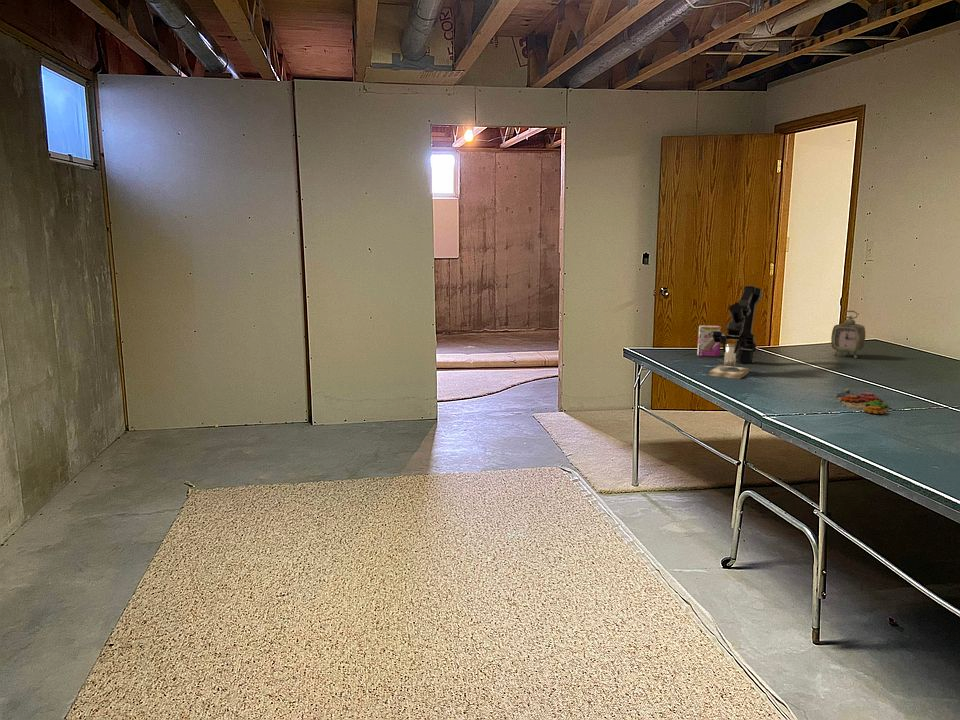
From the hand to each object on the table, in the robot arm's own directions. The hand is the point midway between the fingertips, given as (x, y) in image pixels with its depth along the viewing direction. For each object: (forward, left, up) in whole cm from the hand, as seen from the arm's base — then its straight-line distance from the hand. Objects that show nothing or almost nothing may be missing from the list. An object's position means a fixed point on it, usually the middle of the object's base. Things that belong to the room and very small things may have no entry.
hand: (729, 352), depth 328 cm
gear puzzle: (-18, +64, -12) cm, 68 cm away
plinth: (-1, -1, -11) cm, 11 cm away
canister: (-1, -1, -7) cm, 7 cm away
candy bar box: (-17, -46, -11) cm, 50 cm away
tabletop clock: (-88, -26, -11) cm, 92 cm away
